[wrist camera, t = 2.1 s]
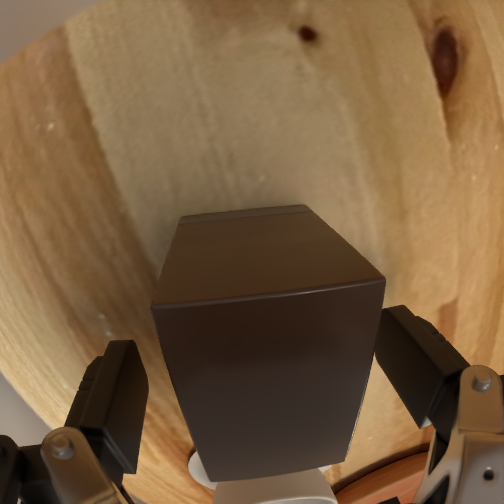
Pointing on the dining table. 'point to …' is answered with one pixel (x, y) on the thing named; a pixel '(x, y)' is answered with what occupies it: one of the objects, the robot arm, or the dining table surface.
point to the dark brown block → (267, 338)
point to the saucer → (387, 483)
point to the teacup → (268, 487)
